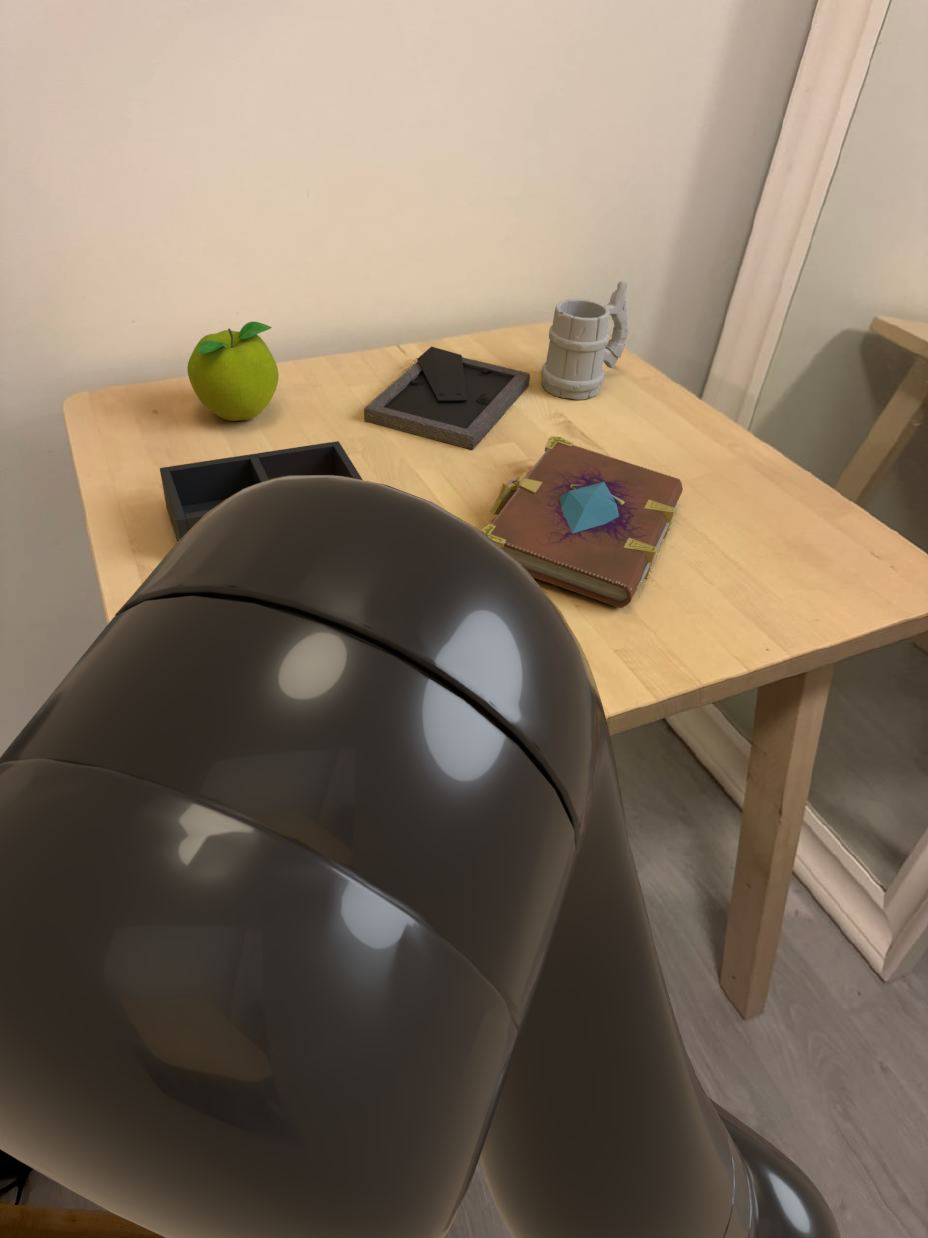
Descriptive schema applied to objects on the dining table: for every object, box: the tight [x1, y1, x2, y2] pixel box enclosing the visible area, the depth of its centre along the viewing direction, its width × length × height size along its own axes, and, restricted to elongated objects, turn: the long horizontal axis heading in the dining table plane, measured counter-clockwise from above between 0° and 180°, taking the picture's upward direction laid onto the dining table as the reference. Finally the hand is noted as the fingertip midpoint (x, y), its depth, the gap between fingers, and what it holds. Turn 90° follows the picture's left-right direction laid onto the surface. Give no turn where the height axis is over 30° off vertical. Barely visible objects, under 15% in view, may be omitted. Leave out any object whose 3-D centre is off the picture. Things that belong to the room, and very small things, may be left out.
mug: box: [541, 280, 630, 401], centre depth 109 cm, size 8×12×12 cm, turn 126°
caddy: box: [159, 440, 364, 543], centre depth 85 cm, size 17×9×4 cm, turn 113°
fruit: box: [187, 321, 280, 422], centre depth 98 cm, size 9×9×10 cm
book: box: [480, 435, 684, 609], centre depth 88 cm, size 16×25×5 cm, turn 157°
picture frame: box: [363, 346, 531, 451], centre depth 106 cm, size 13×2×18 cm
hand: (324, 725), depth 55 cm, fingers open, 8 cm apart
